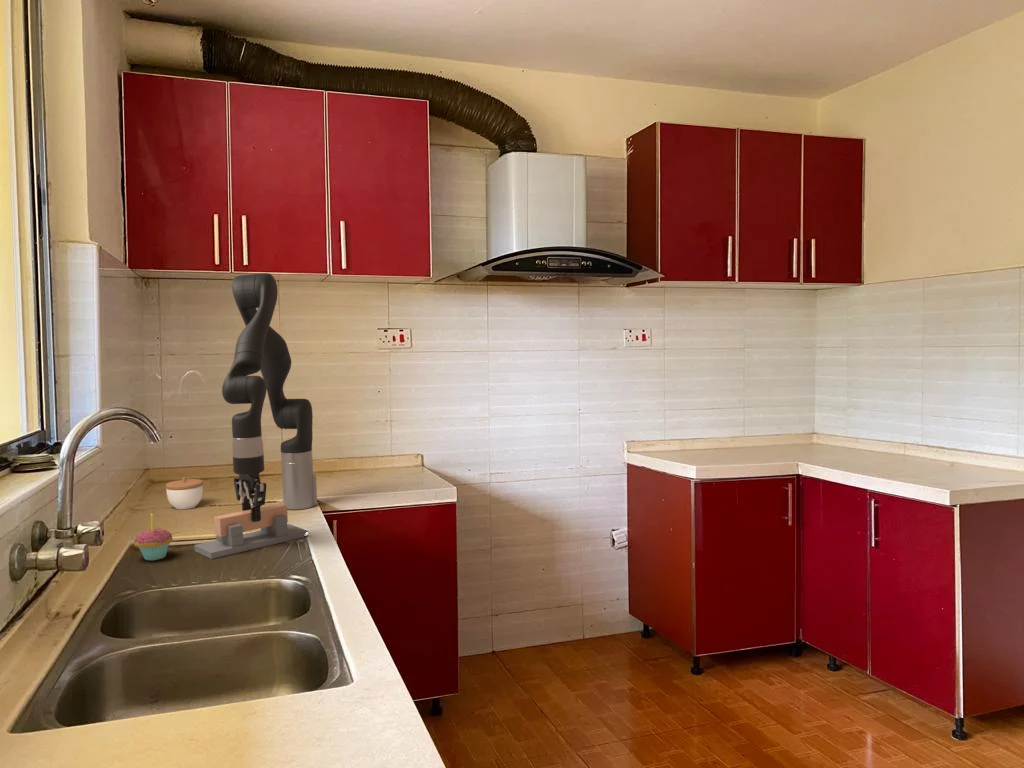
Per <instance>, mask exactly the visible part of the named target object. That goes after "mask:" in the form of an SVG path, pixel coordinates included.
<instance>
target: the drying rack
mask: <svg viewBox="0 0 1024 768" xmlns="http://www.w3.org/2000/svg"><path fill="white" fill-rule="evenodd" d="M287 517H288V515H287V516H286V515H280V516H275V517H273V526H268V527H264V528H260V530H256V531H250V532H248V533H247V532H246V533H244V532H243V526H242V525H241V524H237V525H232V526H228V535H227V536H223V537H220V536H218V535H216V534H215V535H216V537H215V538H216V539H214V540H211V541H206V542H202V543H197V544H196V543H195V544H194V545H193V546H194V552H196V553H198V554H201V555H203V556H204V557H207V558H209V559H211V560H213V559H219V558H222V557H225V556H230V555H234V554H239V553H243V552H246V551H250V550H251V551H252V550H255V549H259V548H264V547H269V546H273V545H276V544H280V543H286V542H289V541H294V540H298V539H302V538H305V537H304V534H305V533H306V532H308V533H309V530H307V529H304V528H303V527H299V526H296V525H293V524H291V523H288V522H287Z"/></svg>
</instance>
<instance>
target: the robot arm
mask: <svg viewBox="0 0 1024 768" xmlns="http://www.w3.org/2000/svg"><path fill="white" fill-rule="evenodd" d="M231 283H232V284H231V290H232V295H233V298H234V302H235V303H236V307H237V308H238V311H239V314H240V316H241V318H242V320H243V322H244V325H245V327H244V328H243V329H242V331H241V332H240V334H239V335H238V338H237V340H236V344H235V350H234V356H233V357H234V358H233V361H232V365H231V367H230V369H229V371H228V373H227V375H226V377H225V379H224V381H223V384H222V387H221V393H222V397H223V399H224V401H225V403H228V404H231V405H239V404H243V405H245V404H250V408H249V410H247V411H245V412H244V411H243V412H240V413H235V414H233V416H232V417H231V432H232V434H231V435H232V443H231V444H232V445H231V447H232V449H231V451H232V452H231V453H232V464H233V465H232V468H233V469H232V470H233V473H234V474H236V475H238V477H234V478H233V483H234V484H233V485H234V490H235V496H236V500H237V501H239V503H240V505H241V511H245V510H250V509H251V519H252V522H258V521H260V520H261V510H260V507H263V506H264V505H266V496H267V483H266V482H261V478H260V474H261V473H262V472H264V471H265V456H264V455H265V453H264V443H263V436H262V412H263V407H264V403H265V399H266V395H267V397H268V402H269V406H270V410H271V414H272V417H273V422H274V423H275V425H276V426H277V428H279V429H281V430H296V434H295V436H293V437H292V438H289V439H286V440H284V441H282V442H281V443H280V458H281V459H280V462H281V481H282V482H281V483H282V501H283V502H282V504H284V505H287V510H303V509H309V508H312V507H314V506H317V505H318V492H317V488H318V487H317V475H316V473H314V466H313V465H314V462H313V406H312V403H311V401H310V400H309V399H307V398H286V396H285V394H284V385H285V382H286V379H287V378H288V375H289V374H290V371H291V367H292V358H291V354H290V351H289V348H288V345H287V343H286V340H285V338H283V337H282V335H280V334H279V332H277V331H276V330H275V329H274V328H273V327H272V326H270V324H271V322H272V319H273V314H274V312H275V310H276V309H275V308H276V306H277V301H278V295H279V294H278V285H277V281H276V279H275V277H274V276H273V274H271V273H268V272H265V273H263V272H262V273H254V274H253V273H252V274H251V273H250V274H242V275H236V276H235V277H233V279H232V282H231ZM258 372H260V373H261V376H260V375H253V374H257V373H258Z"/></svg>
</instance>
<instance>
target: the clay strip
mask: <svg viewBox="0 0 1024 768" xmlns="http://www.w3.org/2000/svg"><path fill="white" fill-rule="evenodd" d="M260 510H261V520H260V521H258V522H252V519H251V509H250V510H245V511H242V510H241V511H236V512H231V513H227V514H221V515H220V514H219V515H216V516H213V522H214V525H213V526H214V535H218V536H220V537H223V536H227V535H228V526H232V525H237V524H241V525H242V526H243V533H245V532H246V533H247V532H251V531H254V530H259V529H261V528H264V527H268V526H273V517H275V516H280V515H286V516H287V523H289V520H288V509H287V505H284V504H283V503H277V504H275V503H274V504H272V505H266V506H260Z"/></svg>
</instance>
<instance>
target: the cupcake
mask: <svg viewBox="0 0 1024 768" xmlns="http://www.w3.org/2000/svg"><path fill="white" fill-rule="evenodd" d="M150 525H151V528H148V529H145V530H143V531H141V532H139V534H137V535H136V537H135V538H133V540H134V541H133V542H134V544H133V545H134V547H137V548H139V550H140V552H141V554H142V556H143V559H144V560H145V561H157V560H162V559H164V558H166V556H167V552H168V549H169V546H170V543H172V542H173V536H172V535H173V534H172V533H171V532H170V531H168V530H167V529H163V528H158V527H155V514H154V513H153V511H151V513H150Z"/></svg>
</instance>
